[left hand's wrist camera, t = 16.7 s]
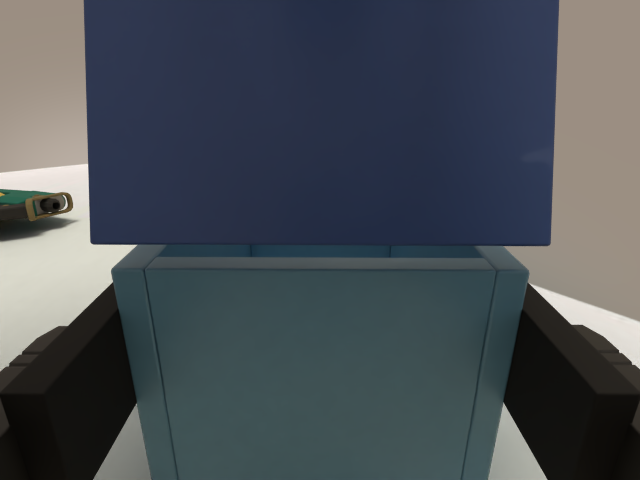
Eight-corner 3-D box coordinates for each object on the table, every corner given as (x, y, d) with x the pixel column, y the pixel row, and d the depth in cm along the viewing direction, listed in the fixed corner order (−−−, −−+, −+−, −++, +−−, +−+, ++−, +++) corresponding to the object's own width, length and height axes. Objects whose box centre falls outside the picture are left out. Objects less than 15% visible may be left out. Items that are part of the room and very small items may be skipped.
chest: (243, 301, 26) (233, 156, 22) (397, 302, 25) (408, 157, 22) (161, 538, 12) (109, 269, 9) (476, 539, 12) (531, 270, 9)
